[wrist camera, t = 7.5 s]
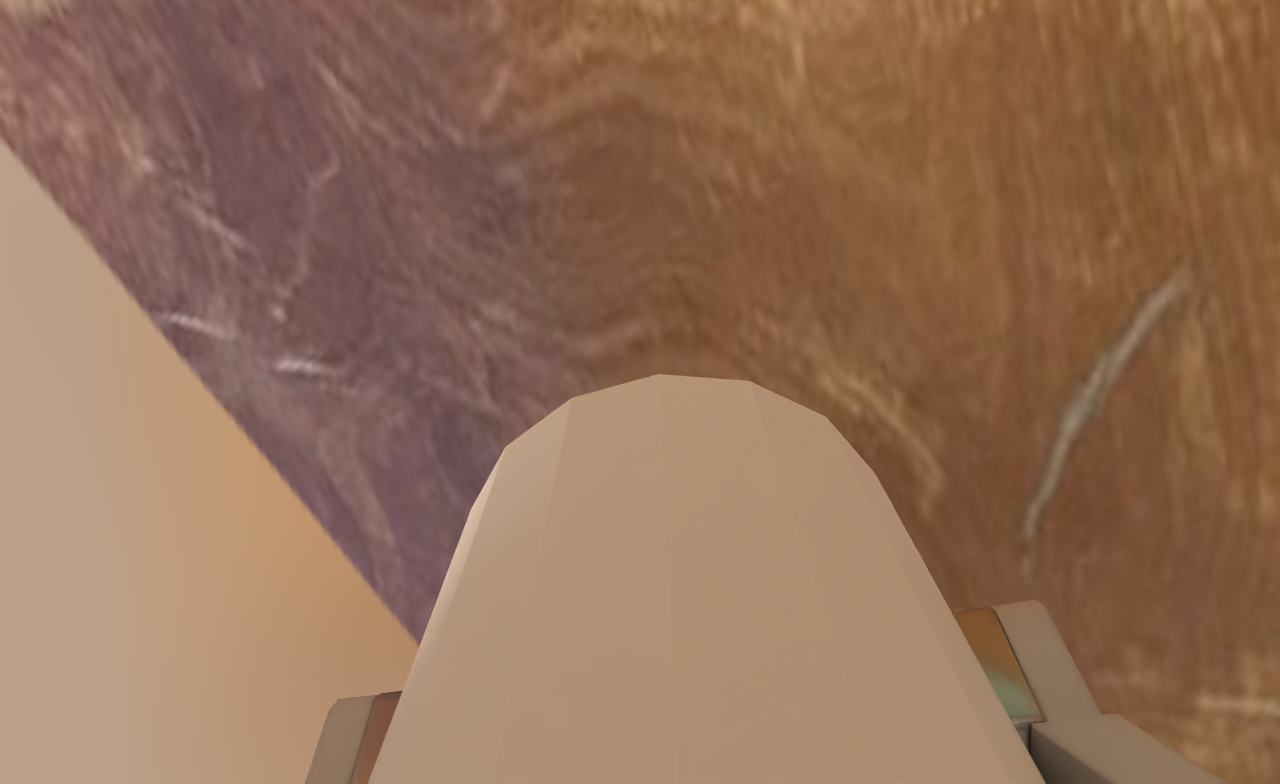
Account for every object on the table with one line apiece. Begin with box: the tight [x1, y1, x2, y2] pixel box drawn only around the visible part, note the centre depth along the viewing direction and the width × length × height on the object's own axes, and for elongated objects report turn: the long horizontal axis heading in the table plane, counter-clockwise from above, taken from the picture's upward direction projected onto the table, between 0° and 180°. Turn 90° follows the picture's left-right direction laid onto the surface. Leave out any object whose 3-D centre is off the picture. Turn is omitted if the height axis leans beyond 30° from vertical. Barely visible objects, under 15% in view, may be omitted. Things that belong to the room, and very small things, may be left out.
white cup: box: [368, 374, 1046, 784], centre depth 10 cm, size 7×7×7 cm
